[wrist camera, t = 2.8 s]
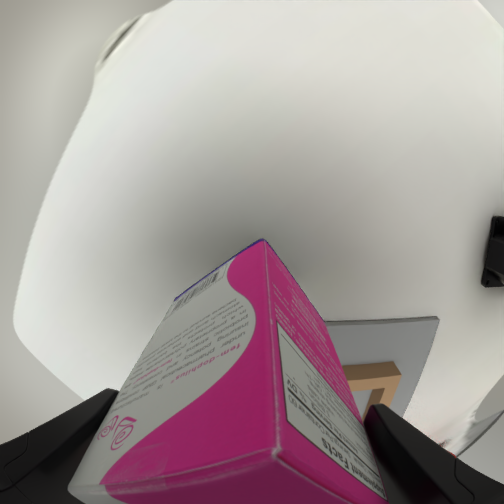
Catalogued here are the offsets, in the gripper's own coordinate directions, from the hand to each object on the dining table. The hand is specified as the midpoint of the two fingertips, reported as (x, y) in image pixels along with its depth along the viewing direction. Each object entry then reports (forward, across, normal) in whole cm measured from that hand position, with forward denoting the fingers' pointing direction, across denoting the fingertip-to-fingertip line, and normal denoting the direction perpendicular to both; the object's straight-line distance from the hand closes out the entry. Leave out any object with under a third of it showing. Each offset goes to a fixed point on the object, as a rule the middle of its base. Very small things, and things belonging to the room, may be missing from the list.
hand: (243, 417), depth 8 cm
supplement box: (+7, 0, 0) cm, 7 cm away
